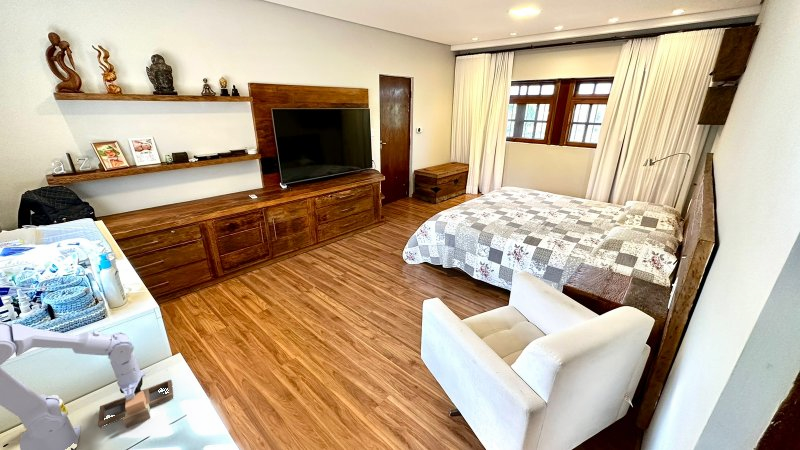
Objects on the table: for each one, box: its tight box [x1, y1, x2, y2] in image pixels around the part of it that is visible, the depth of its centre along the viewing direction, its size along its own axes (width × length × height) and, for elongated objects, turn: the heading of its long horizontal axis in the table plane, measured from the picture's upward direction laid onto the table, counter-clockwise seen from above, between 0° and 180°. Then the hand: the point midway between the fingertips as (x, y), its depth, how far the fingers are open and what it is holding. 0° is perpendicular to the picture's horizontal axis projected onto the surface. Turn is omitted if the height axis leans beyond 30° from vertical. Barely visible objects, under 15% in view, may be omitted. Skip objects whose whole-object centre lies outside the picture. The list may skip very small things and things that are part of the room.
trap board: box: [97, 379, 174, 428], centre depth 102 cm, size 19×11×4 cm, turn 127°
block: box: [125, 391, 146, 415], centre depth 100 cm, size 4×4×4 cm
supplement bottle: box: [48, 394, 69, 416], centre depth 96 cm, size 5×5×8 cm
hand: (136, 397), depth 103 cm, fingers closed
